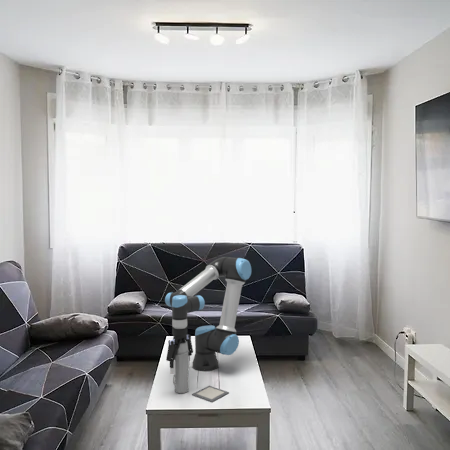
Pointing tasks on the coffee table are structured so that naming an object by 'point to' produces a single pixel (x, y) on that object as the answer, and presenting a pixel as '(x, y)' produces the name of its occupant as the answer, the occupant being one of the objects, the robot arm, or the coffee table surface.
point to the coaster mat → (210, 393)
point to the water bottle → (181, 369)
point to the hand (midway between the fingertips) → (180, 370)
